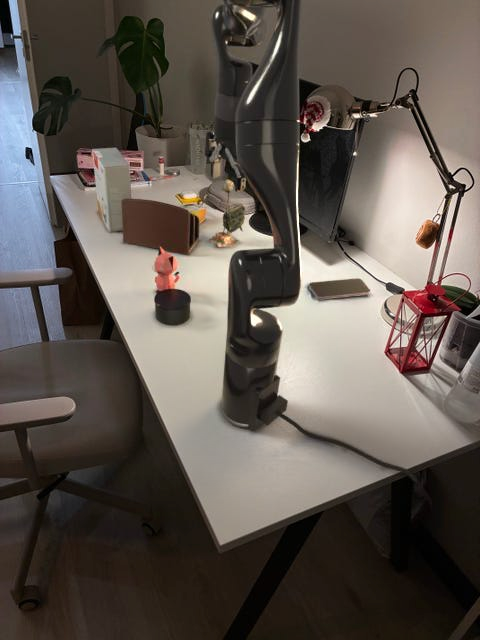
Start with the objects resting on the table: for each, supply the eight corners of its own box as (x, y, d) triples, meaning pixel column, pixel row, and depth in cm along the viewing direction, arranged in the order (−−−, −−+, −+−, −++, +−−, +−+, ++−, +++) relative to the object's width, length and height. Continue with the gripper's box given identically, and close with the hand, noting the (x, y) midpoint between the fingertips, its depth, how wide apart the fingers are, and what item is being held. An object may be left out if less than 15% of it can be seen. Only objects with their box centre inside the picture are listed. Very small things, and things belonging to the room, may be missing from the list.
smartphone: (308, 282, 133) (360, 277, 136) (307, 286, 134) (359, 281, 137) (317, 297, 127) (372, 292, 130) (317, 301, 128) (371, 295, 131)
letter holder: (188, 255, 141) (189, 208, 133) (122, 243, 144) (119, 196, 136) (199, 240, 149) (200, 195, 141) (136, 229, 152) (134, 183, 144)
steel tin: (197, 316, 118) (198, 299, 115) (171, 330, 113) (170, 313, 110) (174, 301, 122) (174, 284, 120) (147, 314, 117) (146, 297, 114)
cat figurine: (147, 291, 125) (145, 248, 118) (170, 283, 129) (170, 241, 122) (162, 304, 121) (161, 260, 114) (186, 296, 125) (186, 253, 118)
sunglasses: (175, 230, 153) (173, 214, 151) (151, 218, 164) (150, 203, 161) (213, 221, 160) (213, 206, 158) (188, 210, 171) (188, 196, 168)
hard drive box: (97, 211, 160) (91, 148, 149) (121, 209, 163) (117, 147, 152) (108, 232, 149) (103, 166, 137) (134, 229, 152) (130, 164, 140)
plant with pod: (249, 245, 149) (256, 179, 138) (214, 250, 145) (218, 183, 133) (238, 233, 155) (243, 169, 144) (204, 238, 151) (206, 172, 139)
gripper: (197, 106, 109) (195, 176, 120) (241, 127, 102) (235, 200, 112) (223, 100, 113) (219, 169, 124) (267, 121, 106) (259, 192, 117)
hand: (227, 184), depth 118 cm, fingers open, 8 cm apart
